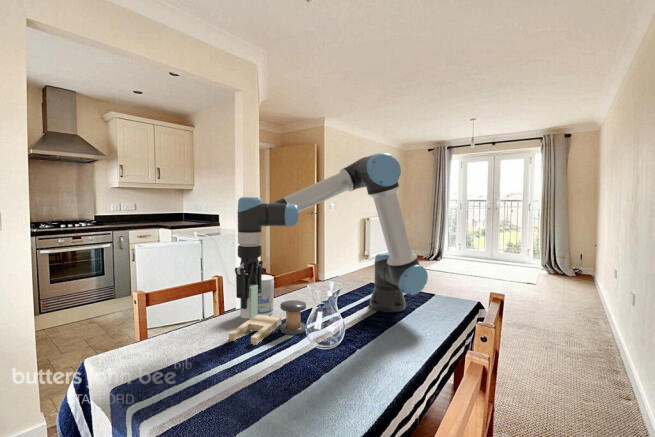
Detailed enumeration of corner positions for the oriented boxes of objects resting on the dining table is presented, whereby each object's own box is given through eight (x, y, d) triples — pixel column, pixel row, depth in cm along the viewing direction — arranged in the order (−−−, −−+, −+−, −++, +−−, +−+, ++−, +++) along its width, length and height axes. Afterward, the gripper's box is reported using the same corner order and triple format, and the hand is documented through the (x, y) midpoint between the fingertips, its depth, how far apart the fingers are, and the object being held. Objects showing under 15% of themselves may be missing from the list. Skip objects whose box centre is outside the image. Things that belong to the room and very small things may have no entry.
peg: (247, 313, 106) (247, 283, 106) (257, 314, 105) (257, 285, 105) (240, 317, 103) (240, 287, 102) (251, 318, 101) (251, 288, 101)
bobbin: (286, 322, 117) (286, 299, 116) (309, 326, 114) (309, 301, 114) (275, 332, 108) (275, 307, 108) (300, 336, 106) (300, 310, 105)
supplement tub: (251, 319, 120) (251, 281, 119) (247, 311, 129) (247, 275, 128) (276, 316, 124) (276, 279, 123) (270, 308, 132) (271, 273, 131)
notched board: (257, 320, 119) (257, 314, 119) (281, 323, 116) (281, 317, 116) (228, 341, 102) (228, 333, 101) (256, 345, 99) (256, 338, 99)
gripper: (253, 240, 112) (252, 305, 113) (223, 247, 95) (223, 323, 97) (272, 242, 109) (271, 308, 111) (245, 249, 93) (245, 326, 95)
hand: (249, 314), depth 104 cm, fingers closed on peg, 4 cm apart
